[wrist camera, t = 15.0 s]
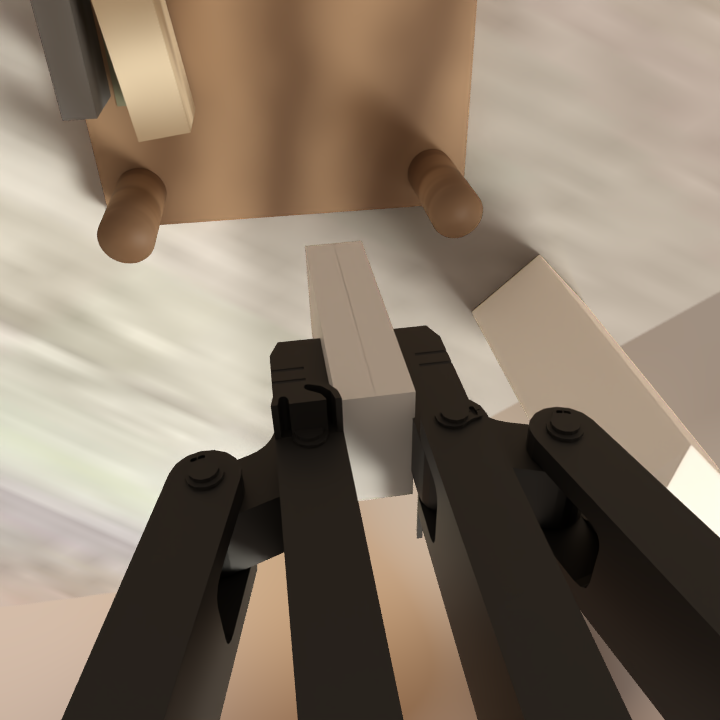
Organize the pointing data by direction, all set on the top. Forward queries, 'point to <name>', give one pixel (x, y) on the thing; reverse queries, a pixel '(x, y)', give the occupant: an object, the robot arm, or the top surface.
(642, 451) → the milk
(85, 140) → the top surface
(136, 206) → the wooden peg board
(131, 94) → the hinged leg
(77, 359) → the top surface
